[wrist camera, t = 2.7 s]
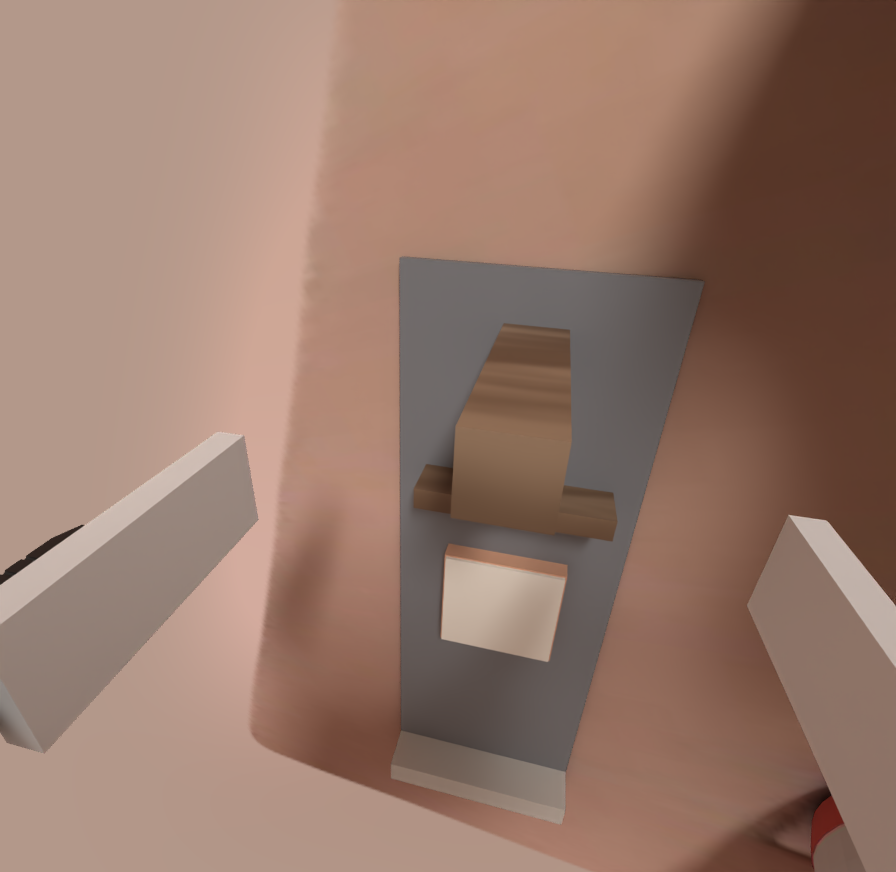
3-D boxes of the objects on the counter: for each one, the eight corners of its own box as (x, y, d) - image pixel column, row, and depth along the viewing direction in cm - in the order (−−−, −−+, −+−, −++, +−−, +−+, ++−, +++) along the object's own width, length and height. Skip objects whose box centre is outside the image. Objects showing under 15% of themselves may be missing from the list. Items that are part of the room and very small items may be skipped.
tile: (448, 543, 29) (444, 556, 28) (567, 565, 28) (567, 579, 27) (443, 624, 32) (439, 639, 31) (549, 647, 31) (549, 663, 30)
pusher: (430, 315, 23) (331, 408, 13) (651, 337, 21) (720, 463, 12) (425, 482, 27) (349, 641, 18) (608, 511, 26) (632, 705, 16)
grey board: (402, 256, 22) (380, 266, 20) (702, 280, 20) (722, 294, 17) (402, 740, 40) (391, 778, 37) (561, 780, 38) (561, 824, 35)
